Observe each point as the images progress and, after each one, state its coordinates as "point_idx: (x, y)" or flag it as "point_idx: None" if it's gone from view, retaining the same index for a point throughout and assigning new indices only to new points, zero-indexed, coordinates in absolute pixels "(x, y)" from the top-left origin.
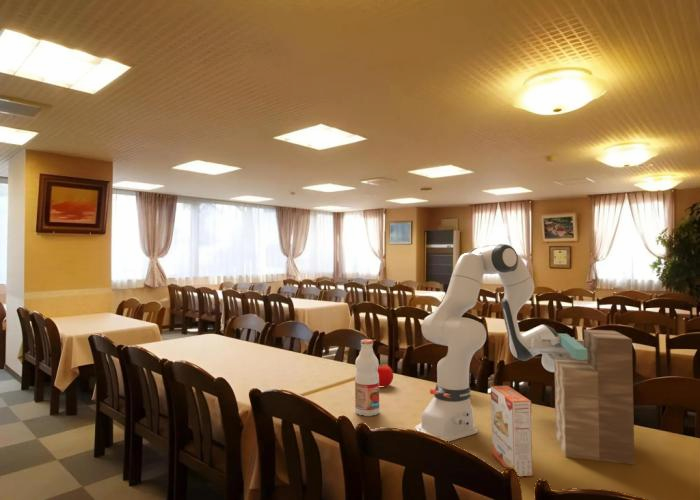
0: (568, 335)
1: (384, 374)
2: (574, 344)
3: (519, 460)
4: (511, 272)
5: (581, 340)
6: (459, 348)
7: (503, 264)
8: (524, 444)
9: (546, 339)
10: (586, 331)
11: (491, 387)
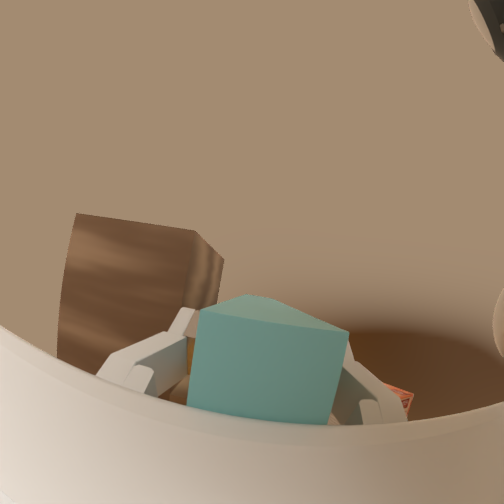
0: (227, 303)
1: None
2: (263, 298)
3: None
4: None
5: (31, 344)
6: None
7: (498, 56)
8: None
9: (447, 418)
10: (205, 241)
11: (411, 394)
